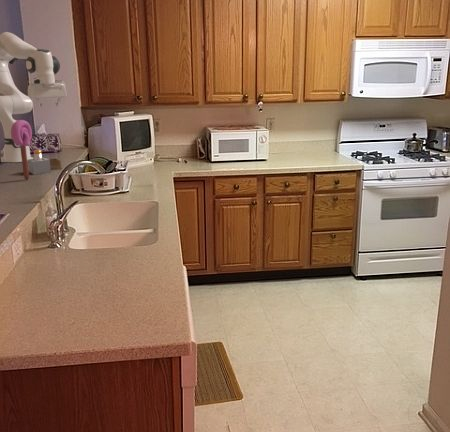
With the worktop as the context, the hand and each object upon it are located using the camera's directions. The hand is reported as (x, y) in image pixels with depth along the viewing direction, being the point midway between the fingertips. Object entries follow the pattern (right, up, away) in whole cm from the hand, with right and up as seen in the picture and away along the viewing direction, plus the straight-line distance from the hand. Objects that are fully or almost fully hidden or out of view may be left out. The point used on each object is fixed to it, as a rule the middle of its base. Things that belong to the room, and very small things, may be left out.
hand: (48, 106), depth 272 cm
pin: (-4, -37, -3) cm, 37 cm away
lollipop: (-3, -42, -22) cm, 48 cm away
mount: (0, -34, +6) cm, 34 cm away
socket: (-4, -37, -3) cm, 37 cm away
